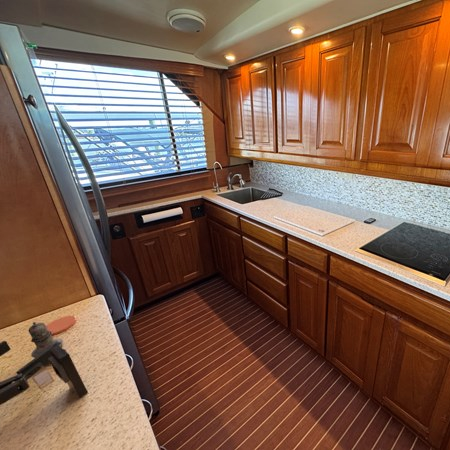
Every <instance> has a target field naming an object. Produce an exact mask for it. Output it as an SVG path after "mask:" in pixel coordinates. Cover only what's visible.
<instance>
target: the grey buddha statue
mask: <svg viewBox="0 0 450 450" xmlns="http://www.w3.org/2000/svg"><path fill="white" fill-rule="evenodd" d="M46 325H47V324H46V323H44V322H37V321H33V322H32V325H31V326H29V328H28V333H29V335H30V336H31V339H30V342H32V343H34V345H35V348H34V349H33V350H32V352H31V353H30V356H31V357H32V358H33V359H34V358H36V357H37V356H38V355H40V354H41V353H42V352H44V351H45V350H46V349H48V348H49V347H53V348H54V347H55V346H57V345H59V346H60V347H62V348H63V345H64V344H63V343H64V339H63V338H60V337H59V338H53V335H51V333H52V332H51V331H48V329H47V327H46ZM63 349H64V350H65V351H66V352H67V349H65V348H63ZM48 366H51V364H50V362H48V363H47V364H46V365H44V366H43V368H44V367H48Z"/></svg>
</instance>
